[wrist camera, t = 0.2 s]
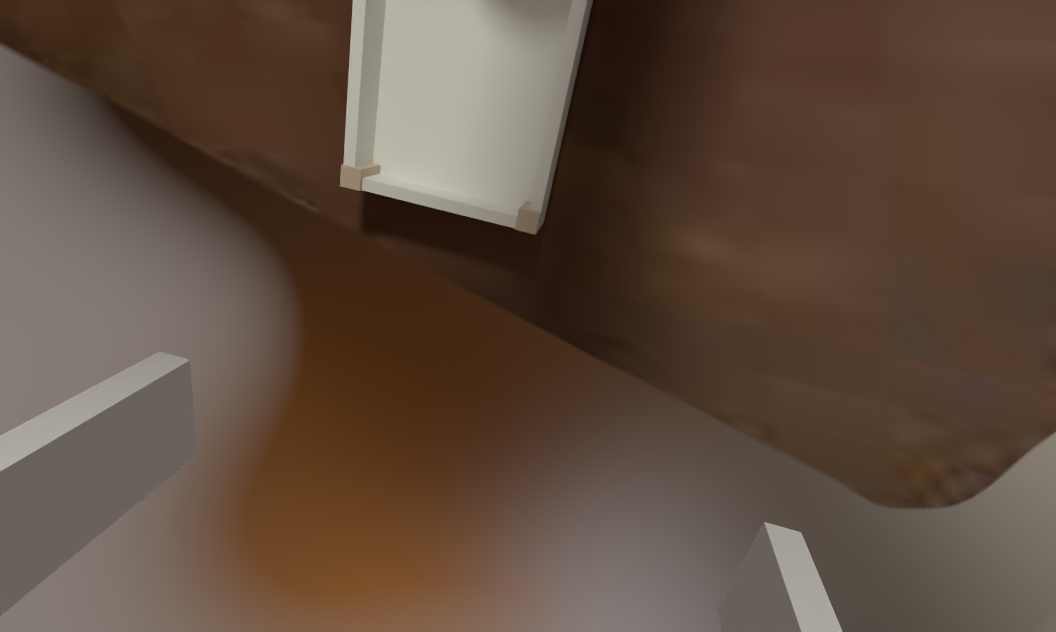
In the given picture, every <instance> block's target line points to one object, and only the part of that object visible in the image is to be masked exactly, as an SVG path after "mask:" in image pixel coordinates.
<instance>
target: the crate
mask: <svg viewBox="0 0 1056 632" xmlns="http://www.w3.org/2000/svg"><path fill="white" fill-rule="evenodd" d="M592 3H593V0H353V9H352V26H351V43H350V61H349V78H348V95H347V112H346V130H345V147H344V164H343V165H341V178H340V186H342V187H346V188H350V189H354V190H358V191H361V190H363V191H367V192H371V193H375V194H379V195H383V196H387V197H391V198H395V199H399V200H403V201H407V202H411V203H415V204H419V205H423V206H427V207H431V208H435V209H439V210H443V211H447V212H451V213H455V214H459V215H463V216H467V217H471V218H475V219H479V220H483V221H487V222H491V223H495V224H499V225H503V226H507V227H511V228H515V230H518V231H522V232H526V233H530V234H534V235H536V233H537V232H538V230H539V229H540V227H541V226H542V224H543V223H544V219H545V214H546V210H547V205H548V201H549V196H550V192H551V187H552V183H553V178H554V174H555V169H556V165H557V160H558V156H559V151H560V147H561V142H562V138H563V133H564V129H565V124H566V120H567V115H568V111H569V106H570V102H571V97H572V93H573V88H574V84H575V79H576V75H577V71H578V66H579V62H580V57H581V53H582V48H583V44H584V39H585V35H586V30H587V26H588V21H589V17H590V12H591V8H592Z"/></svg>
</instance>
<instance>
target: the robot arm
mask: <svg viewBox="0 0 1056 632" xmlns="http://www.w3.org/2000/svg"><path fill="white" fill-rule="evenodd" d="M196 449H197V447H196V434H195V421H194V407H193V394H192V381H191V367H190V360H188V359H184V358H181V357H177V356H174V355H170V354H167V353H163V352H160V351H159V352H157V353H156V354H154V355H152V356H150V357H148V358H146V359H144V360H142V361H140V362H139V363H137V364H135V365H133V366H131V367H130V368H127V369H125V370H123V371H122V372H120V373H118V374H116V375H114V376H112V377H110V378H109V379H107V380H105V381H103V382H101V383H99V384H97V385H95V386H94V387H92V388H90V389H88V390H86V391H84V392H82V393H80V394H78V395H76V396H74V397H73V398H71V399H69V400H67V401H65V402H63V403H61V404H59V405H57V406H56V407H54V408H52V409H50V410H48V411H46V412H44V413H42V414H41V415H39V416H37V417H35V418H33V419H31V420H29V421H27V422H25V423H23V424H22V425H20V426H18V427H16V428H14V429H12V430H10V431H8V432H7V433H5V434H3V435H1V436H0V616H1V615H2V614H3V613H4V612H6V611H7V610H8V609H9V608H10V607H12V606H13V605H14V604H15V603H16V602H18V601H19V600H20V599H21V598H23V597H24V596H25V595H26V594H27V593H29V592H30V591H31V590H32V589H34V588H35V587H36V586H37V585H38V584H40V583H41V582H42V581H43V580H45V579H46V578H47V577H48V576H49V575H51V574H52V573H53V572H54V571H56V570H57V569H58V568H59V567H60V566H62V565H63V564H64V563H65V562H67V561H68V560H69V559H70V558H71V557H73V556H74V555H75V554H76V553H77V552H79V551H80V550H81V549H82V548H84V547H85V546H86V545H87V544H88V543H90V542H91V541H92V540H93V539H95V538H96V537H97V536H98V535H99V534H101V533H102V532H103V531H104V530H106V529H107V528H108V527H109V526H111V525H112V524H113V523H114V522H115V521H117V520H118V519H119V518H120V517H122V516H123V515H124V514H125V513H126V512H128V511H129V510H130V509H131V508H132V507H134V506H135V505H136V504H137V503H138V502H140V501H141V500H142V499H143V498H145V497H146V496H147V495H148V494H150V493H151V492H152V491H153V490H154V489H156V488H157V487H158V486H159V485H160V484H162V483H163V482H164V481H165V480H167V479H168V478H169V477H170V476H172V475H173V474H174V473H175V472H176V471H178V470H179V469H180V468H181V467H182V466H184V465H185V464H186V463H187V462H189V461H190V460H191V459H192V458H193V457H195V456H196V455H197V450H196ZM718 612H719V618H720V623H721V628H722V632H842V630H841V627H840V625H839V622H838V620H837V618H836V615H835V613H834V610H833V608H832V606H831V603H830V601H829V599H828V596H827V594H826V591H825V589H824V586H823V584H822V582H821V579H820V577H819V575H818V572H817V570H816V567H815V565H814V563H813V560H812V558H811V555H810V553H809V551H808V548H807V546H806V543H805V541H804V539H803V536H802V534H801V532H797V531H794V530H790V529H787V528H783V527H780V526H776V525H773V524H769V523H766V522H765V523H764V524H763V525H762V527H761V529H760V531H759V533H758V535H757V537H756V539H755V540H754V542H753V544H752V546H751V548H750V550H749V552H748V554H747V556H746V558H745V559H744V561H743V563H742V565H741V567H740V569H739V571H738V573H737V574H736V576H735V578H734V580H733V582H732V584H731V586H730V588H729V589H728V591H727V593H726V595H725V597H724V599H723V601H722V603H721V605H720V606H719V608H718Z"/></svg>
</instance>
